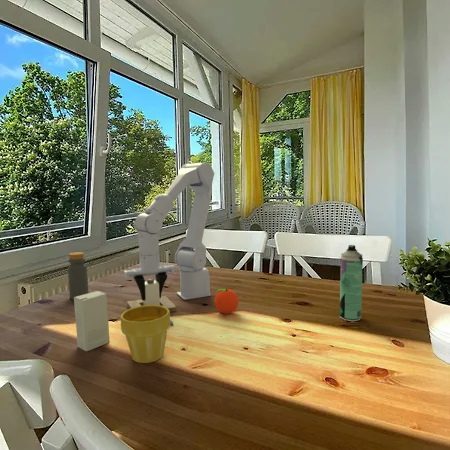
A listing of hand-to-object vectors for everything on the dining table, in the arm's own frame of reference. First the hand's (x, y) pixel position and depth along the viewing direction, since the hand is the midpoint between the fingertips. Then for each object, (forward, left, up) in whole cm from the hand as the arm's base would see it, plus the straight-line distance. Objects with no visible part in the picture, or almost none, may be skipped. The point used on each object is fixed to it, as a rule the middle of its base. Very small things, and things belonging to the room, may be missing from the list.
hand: (151, 298), depth 106 cm
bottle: (+19, -22, -3) cm, 30 cm away
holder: (0, 0, -3) cm, 3 cm away
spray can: (-46, +34, -3) cm, 57 cm away
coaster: (+2, +12, -3) cm, 12 cm away
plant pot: (+8, +30, -3) cm, 31 cm away
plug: (0, 0, -2) cm, 2 cm away
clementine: (-18, +14, -3) cm, 23 cm away
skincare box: (+18, +19, -3) cm, 26 cm away
